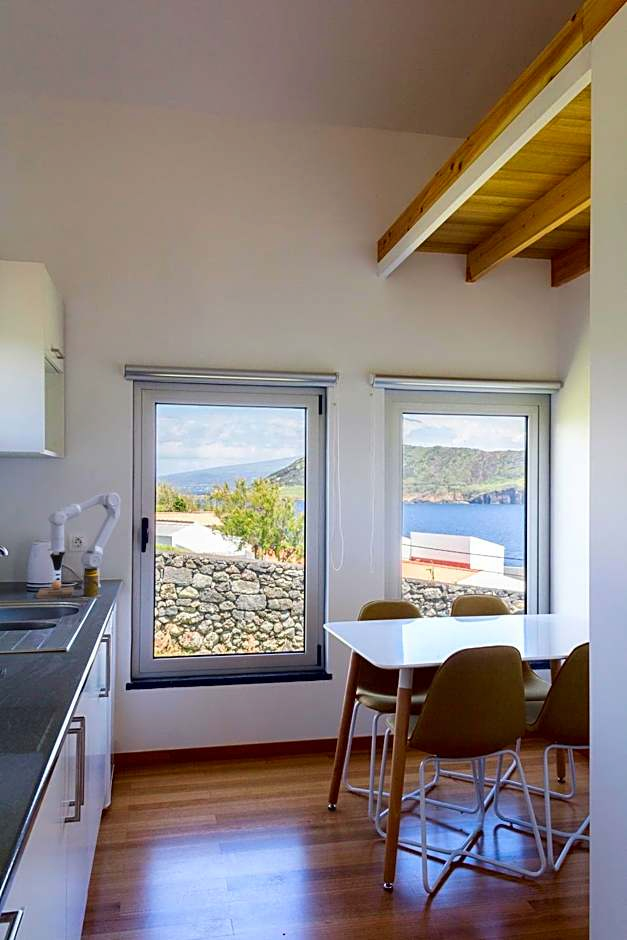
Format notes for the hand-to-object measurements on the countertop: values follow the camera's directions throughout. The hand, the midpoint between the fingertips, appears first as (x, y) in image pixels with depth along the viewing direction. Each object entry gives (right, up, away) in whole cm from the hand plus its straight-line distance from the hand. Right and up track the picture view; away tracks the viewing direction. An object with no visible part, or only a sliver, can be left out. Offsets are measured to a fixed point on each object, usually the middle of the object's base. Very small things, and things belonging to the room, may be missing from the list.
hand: (57, 569), depth 351 cm
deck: (+2, -10, -10) cm, 14 cm away
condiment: (+18, -10, -14) cm, 24 cm away
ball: (+1, -6, -6) cm, 8 cm away
